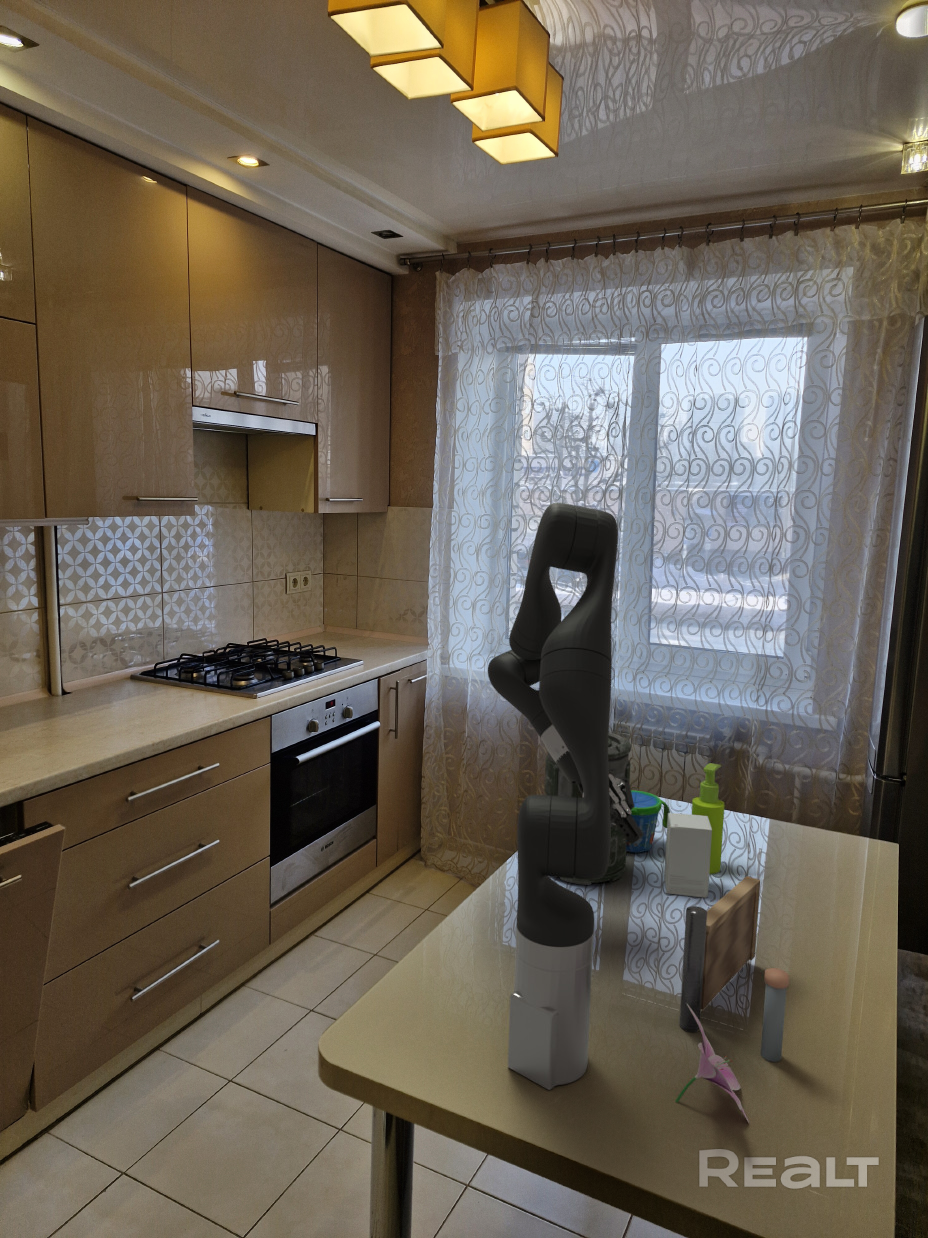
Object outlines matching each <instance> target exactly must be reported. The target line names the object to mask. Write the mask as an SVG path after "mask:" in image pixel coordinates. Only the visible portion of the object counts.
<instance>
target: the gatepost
mask: <svg viewBox="0 0 928 1238" xmlns="http://www.w3.org/2000/svg"><path fill="white" fill-rule="evenodd" d="M707 911H708V910H706V908H704V907H701V906H697V905H690V906H688V907H686V910H685V921H684V922H685V923H684V925H685V927H684V937H683V939H684V941H683V954H682V955H683V957H682V958H683V959H682V972H681V987H680V989H681V991H680V1004H679V1005H680V1007H679V1021H678V1024H679V1027H680V1028H681V1029H682V1030H683V1031H685V1032H688V1033H696V1032H699V1031H700V1028H699V1026H698V1024H697V1022H696V1020H695V1018H694V1016H693V1014H692V1013H691V1011H690V1009H689V1007H690V1008H691V1009H692V1011H693V1012H694V1013H695V1015H696V1017H697V1018H698V1020H699V1021H700V1022H701V1014H702V1010H701V1001H702V985H703V970H704V954H705V939H706V923H707ZM686 1003H687V1004H688V1005H689V1007H688V1006H687V1004H686Z"/></svg>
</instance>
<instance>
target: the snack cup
mask: <svg viewBox="0 0 928 1238" xmlns="http://www.w3.org/2000/svg"><path fill="white" fill-rule="evenodd" d="M631 793H632V798H633V802H634V808H633V809H632V810H631V816H632V818H633V819H634V821H635V822H636V824H637V825H638V827H639V828H640V829H641V831H642V833H643V837H642V838H640V839H639V840H638V841H636V842H634V843H633V844H630V843H629V842H628V840H627V844H626V852H628V853H632V854H633V853H642V852H649V851H650V849H651V848H652V846H653V842H654V839H655V835H656V834H655V833H656V829H657V823H658V819H659V813H660V811H661V809H662V805H663V819H662V826H663V827H664V828H665V829H667V820H668V813H671V810H670V807H669V805H668V804H667V803H666V802H665V801H664V800H663V799H661V798H660V797H659V796H657V795H655V794H653V793H650V792H647V791H641V790H635V789H634V790H633V789H631Z"/></svg>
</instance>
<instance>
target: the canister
mask: <svg viewBox="0 0 928 1238" xmlns="http://www.w3.org/2000/svg"><path fill="white" fill-rule="evenodd" d="M631 751H632V744H631V742H630V740H628V739H627V738H626V739H625V738H624V737H623V736H621V735H618V734H616V733H614V732H610V731H609V736H608V768H609V770H611V771H612V772H613V773H614V775H615V777H616V778H618V779H620V780H622V779H623V778H624V777H625V778H627V779H628V780H629V784H630V782H631V764H632V763H631V761H630V760H629V759H630V758H629V757H630V756H629V755H630V753H631ZM544 767H545V769H544V770H545V772H544V793H545V795H549V796H563V797H576V798H577V799H578V798H583V794H582V793H581V792H580V790H579V787H578V784H570V783H569V781H568V780H567V778H566V777H565V776H564V774H563V773H562V771H561V770H560V768H559V767H558V765H557V764H556V762H555V761H554V759H553V758H552V756H551V755H550V753H549V752H548V751H547V754H546V756H545V766H544ZM625 802H626V801H625ZM610 824H611V847H610V859H609V864H608V868H607V871H606V873H605V874H604V876H603V877H602V878H600V879H594V880H591V879H576V878H575V877H574V878H565V877H559V878H560V880H561V881H563V882H567V883H569V884H570V883H571V884H575V885H582V886H583V885H584V886H591V885H592V884H594V883H598V884H599V883H604V882H607V881H609V883H611V882H615V881H616V880H619V878H621V877H622V875H623V874H624V872H625V870H626V860H627V851H626V844H627V839H626V838H625V837H624V835H623V834H622V832H621V831H620V830H619V828H618V827H617V825H614V824H612V823H610Z"/></svg>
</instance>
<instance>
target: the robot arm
mask: <svg viewBox="0 0 928 1238" xmlns="http://www.w3.org/2000/svg"><path fill="white" fill-rule="evenodd" d="M618 530H619V529H618V523H617V520H616V518H615V516H614V515H613V514H612V513H609V512H607V511H604V510H600V509H595V508H591V507H586V506H580V505H575V504H569V503H562V502H554V503H551V504H549V505H548V506H547V507H546V508H545V510H544V512H543V514H542V516H541V517H540V520H539V523H538V526H537V530H536V533H535V538H534V541H533V546H532V550H531V556H530V559H529V564H528V568H527V572H526V573H527V574H526V576H525V577H526V579H525V583H524V588H523V589H524V590H523V595H522V599H521V603H520V606H519V608H518V612H517V614H516V616H515V619H514V622H513V625H512V627H511V630H510V634H509V639H508V640H509V641H508V643H509V648H510V650H507V651H504V652H503V653H500V654H498V655H495V656H494V657H493V658H492V659H491V660H490V661H489V663H488V666H487V675H488V679H489V682H490V684H491V686H492V688H494V690H495V691H496V692H497V693H498V694H499V695H500V696H501V697H502V698H503V699H505V700H506V702H508V703H509V704H511V706H513V707H514V708H515V709H516V710H517V711H518V712H519V713H521V714H522V715H523V716H524V717H525V718H526V719H527V720H528V721H529V723H530V725H531V726H532V727H533V729H534V730H535V732H536V733H537V735H538V736H539V738H540V739H541V741H542V743H543V744H544V746H545V749H546V750H547V753H548V752H549V753H550V755H551V756H552V758H553V759H554V761H555V762H556V764H557V765H558V767H559V768H560V770H561V771H562V773H563V774H564V776H565V777H566V778H567V780H568V781H569V783H570V784H578V787H579V790H580V792H581V793H582V794H583V798H578V799H577V798H576V797H563V796H549V795H546V794H544V795H543V794H529V795H528V796H525V798H524V800H523V801H522V802H521V805H520V807H519V812H518V817H517V824H516V825H517V829H516V830H517V831H516V832H517V834H516V837H517V838H516V845H517V881H518V882H517V907H516V909H517V910H516V924H515V925H516V927H515V928H516V931H515V932H516V933H515V952H514V953H515V954H514V956H515V957H514V981H513V982H514V985H513V986H514V987H513V992H511V994H510V995H509V1018H508V1019H509V1020H508V1022H509V1023H508V1024H509V1025H508V1047H507V1049H508V1050H507V1051H508V1052H507V1055H508V1056H507V1068H509V1069H511V1070H513V1071H515V1072H516V1073H518V1074H519V1075H522V1076H523V1077H524V1078H527V1079H529V1080H531V1081H532V1082H534V1083H536V1084H538V1085H540V1086H541V1087H543V1088H544V1089H546V1090H548V1091H549V1090H550V1091H551V1090H552V1089H553V1088H554V1087H555V1086H560V1085H566V1084H570V1083H573V1082H575V1081H577V1080H579V1079H580V1078H581V1077H582V1076H583V1075H584V1074H585V1073H586V1071H587V1069H588V1064H589V1063H588V1061H589V1041H590V1040H589V1039H590V1038H589V1037H590V1021H591V1020H590V1018H591V1016H590V1015H591V997H592V996H591V992H592V968H593V949H594V931H595V913H594V909H593V906H592V904H591V903H590V902H589V901H588V900H587V899H586V898H584V896H582V895H580V894H578V893H576V892H574V891H572V890H570V889H568V888H566V887H564V886H562V885H560V884H559V883H557V882H556V881H554V880H553V879H552V877H557V878H560V877H565V878H574V877H575V878H576V879H591V880H594V879H600V878H602V877H603V876H604V874H605V873H606V871H607V868H608V864H609V859H610V847H611V824H610V823H612V824H614V825H617V827H618V828H619V830H620V831H621V832H622V834H623V835H624V837H625V838H626V839H627V840H628V842H629V843H630V844H633V843H634V842H636V841H638V840H639V839H640V838H642V837H643V833H642V831H641V829H640V828H639V827H638V825H637V824H636V822H635V821H634V819H633V818H632V816H631V810H632V809H633V808H634V802H633V798H632V793H631V790H632V789H631V785H630V784H629V780H628V779H627V778H625V777H624V778H623V779H622V780H620V779H618V778H616V777H615V775H614V773H613V772H612V771H611V770H609V768H608V736H609V732H610V717H611V716H610V715H611V714H610V713H611V696H612V694H611V693H612V674H613V673H612V668H613V667H612V664H613V660H612V656H613V655H612V613H613V612H612V608H613V606H612V605H613V597H614V596H613V594H614V585H615V584H614V583H615V576H616V575H615V573H616V564H617V555H618V544H619V543H618V541H619V531H618ZM551 568H553V569H554V568H555V569H559V570H560V569H561V570H565V571H569V572H570V571H571V572H575V573H581V574H584V575H585V576H586V584H585V585H586V586H585V590H584V591H583V593H582V594H581V596H580V598H579V599H578V601H577V602H576V604H575V605H574V606H573V607H572V609H571V610H570V611H569V612H568V613H567V614H566V616H564V617H563V619H562V616H563V615H562V608H561V607H562V606H561V604H560V600H559V599H558V595H557V594H556V590H555V589H554V586H553V583H552V581H551V576H550V575H551V574H550V572H551V571H550V570H551ZM537 683H539V684H538V685H539V687H538V689H536V688H533V687H532V686H533V685H535V684H537ZM625 801H626V802H625Z"/></svg>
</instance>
